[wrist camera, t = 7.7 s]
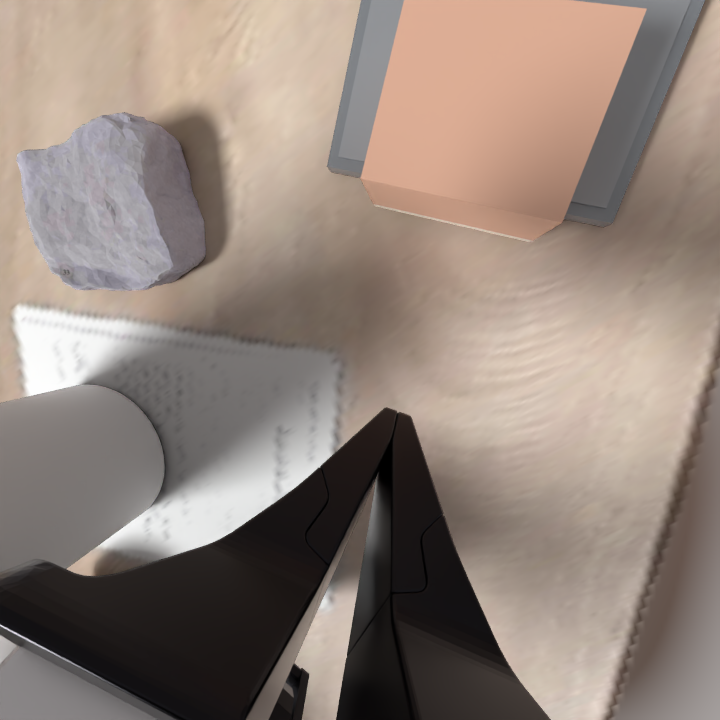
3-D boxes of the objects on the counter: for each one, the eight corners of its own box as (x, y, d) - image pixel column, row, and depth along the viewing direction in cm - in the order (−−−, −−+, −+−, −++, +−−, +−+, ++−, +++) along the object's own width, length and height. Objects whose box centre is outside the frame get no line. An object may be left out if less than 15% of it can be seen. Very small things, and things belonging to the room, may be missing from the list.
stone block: (232, 270, 24) (181, 120, 20) (188, 278, 19) (113, 88, 16) (120, 297, 27) (60, 171, 24) (60, 309, 22) (-23, 156, 19)
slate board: (603, 227, 16) (613, 222, 16) (331, 172, 19) (326, 165, 18) (738, -102, 13) (760, -131, 12) (391, -116, 16) (389, -141, 15)
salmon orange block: (562, 222, 13) (646, 8, 11) (360, 178, 14) (408, -19, 12) (530, 242, 16) (589, 86, 15) (374, 206, 18) (412, 59, 16)
